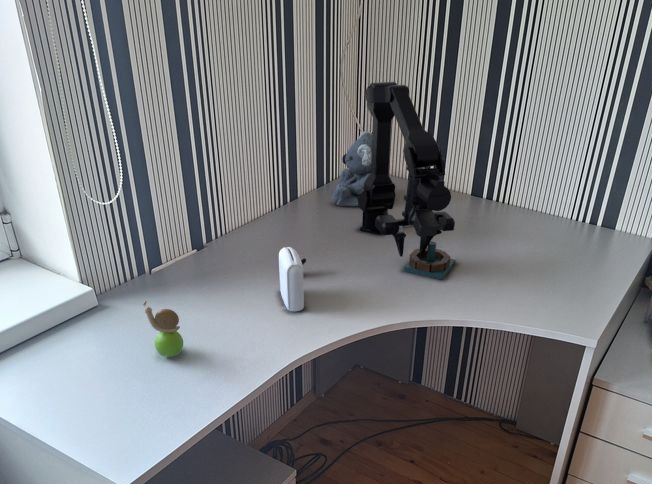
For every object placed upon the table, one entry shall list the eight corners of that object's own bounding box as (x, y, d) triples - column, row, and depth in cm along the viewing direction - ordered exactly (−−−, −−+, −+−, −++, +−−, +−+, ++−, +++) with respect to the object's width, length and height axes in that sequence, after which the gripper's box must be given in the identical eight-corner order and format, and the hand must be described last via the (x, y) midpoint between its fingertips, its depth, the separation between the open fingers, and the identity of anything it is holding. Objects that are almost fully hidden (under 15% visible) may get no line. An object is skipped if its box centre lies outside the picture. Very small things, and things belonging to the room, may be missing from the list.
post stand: (404, 271, 171) (405, 246, 167) (418, 255, 179) (420, 231, 175) (442, 279, 168) (444, 255, 164) (455, 263, 175) (457, 239, 172)
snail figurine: (154, 347, 139) (145, 295, 132) (186, 346, 139) (179, 294, 133) (149, 362, 134) (140, 309, 128) (182, 362, 135) (175, 309, 128)
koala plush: (338, 187, 219) (339, 125, 208) (395, 191, 218) (398, 129, 207) (330, 207, 204) (331, 142, 194) (391, 211, 203) (394, 146, 192)
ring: (404, 266, 170) (405, 259, 169) (418, 252, 178) (418, 244, 177) (441, 275, 167) (441, 267, 166) (453, 259, 175) (454, 252, 173)
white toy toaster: (278, 291, 160) (276, 242, 153) (296, 289, 161) (295, 241, 154) (287, 313, 152) (285, 263, 145) (306, 311, 153) (305, 261, 146)
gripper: (394, 210, 152) (387, 273, 160) (469, 205, 158) (459, 266, 166) (376, 191, 161) (371, 252, 169) (449, 188, 167) (440, 247, 175)
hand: (411, 255), depth 169 cm, fingers open, 5 cm apart
